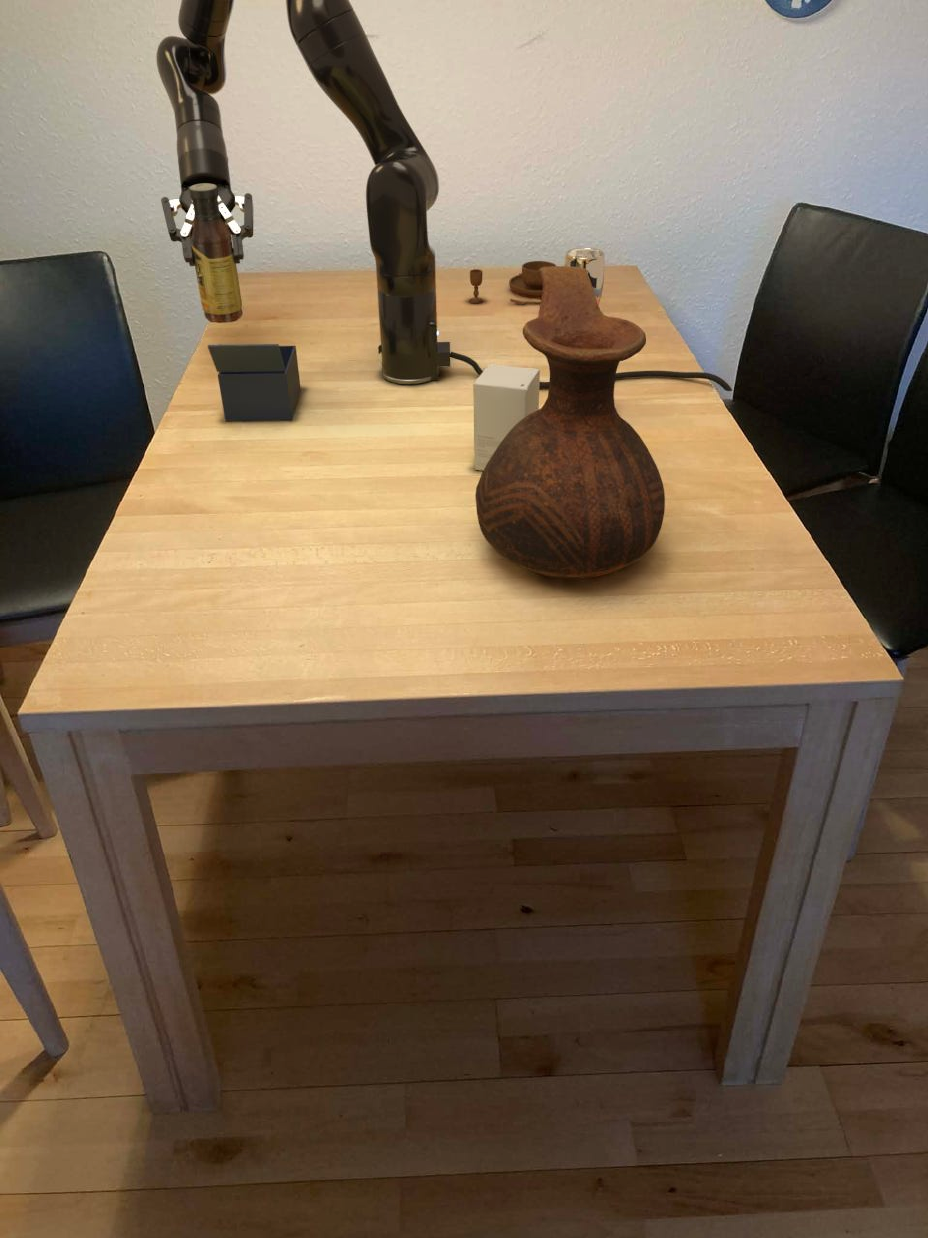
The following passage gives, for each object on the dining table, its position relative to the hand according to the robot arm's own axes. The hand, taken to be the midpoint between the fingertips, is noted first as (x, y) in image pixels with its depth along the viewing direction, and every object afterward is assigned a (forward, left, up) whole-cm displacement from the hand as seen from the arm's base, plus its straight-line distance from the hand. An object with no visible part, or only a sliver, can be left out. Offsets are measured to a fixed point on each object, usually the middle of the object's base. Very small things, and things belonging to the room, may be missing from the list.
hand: (214, 261), depth 143 cm
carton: (-7, +11, -19) cm, 23 cm away
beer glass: (-59, -16, -19) cm, 64 cm away
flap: (-7, +18, -8) cm, 21 cm away
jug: (-49, +54, -19) cm, 76 cm away
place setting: (-50, -44, -19) cm, 69 cm away
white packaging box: (-43, +31, -19) cm, 57 cm away
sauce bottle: (0, -2, -10) cm, 10 cm away
